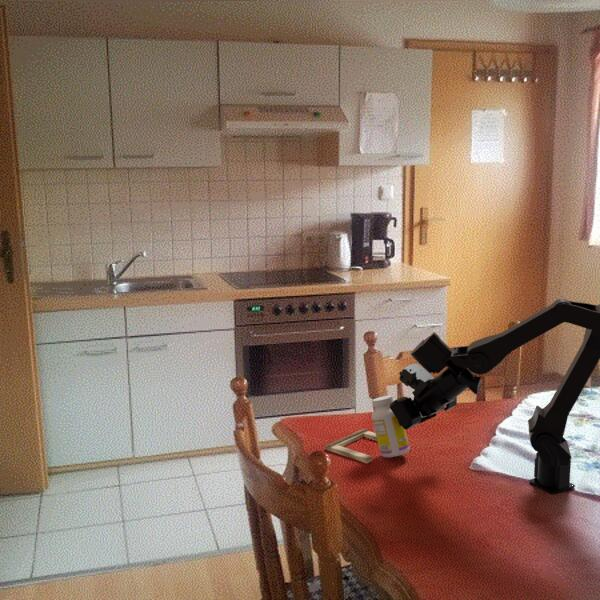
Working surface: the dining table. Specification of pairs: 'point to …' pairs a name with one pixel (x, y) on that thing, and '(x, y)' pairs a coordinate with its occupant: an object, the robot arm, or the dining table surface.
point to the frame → (339, 444)
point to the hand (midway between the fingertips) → (400, 423)
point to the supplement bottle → (388, 429)
